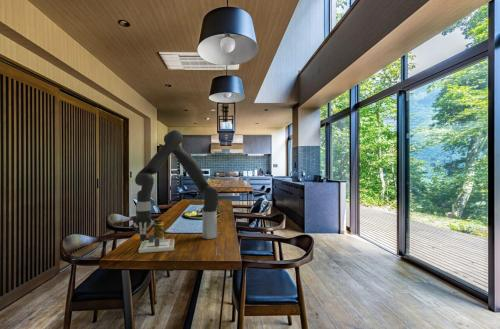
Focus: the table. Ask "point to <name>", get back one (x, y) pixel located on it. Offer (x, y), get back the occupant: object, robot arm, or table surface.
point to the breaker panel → (150, 246)
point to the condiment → (159, 229)
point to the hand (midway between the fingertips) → (143, 240)
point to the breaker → (151, 237)
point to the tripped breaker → (157, 241)
